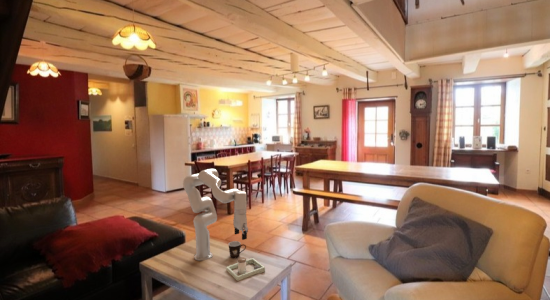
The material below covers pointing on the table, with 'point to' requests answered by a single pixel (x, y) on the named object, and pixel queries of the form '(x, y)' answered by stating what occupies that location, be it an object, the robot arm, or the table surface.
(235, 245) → the coffee mug
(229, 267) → the tray frame
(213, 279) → the table surface
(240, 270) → the cylinder
